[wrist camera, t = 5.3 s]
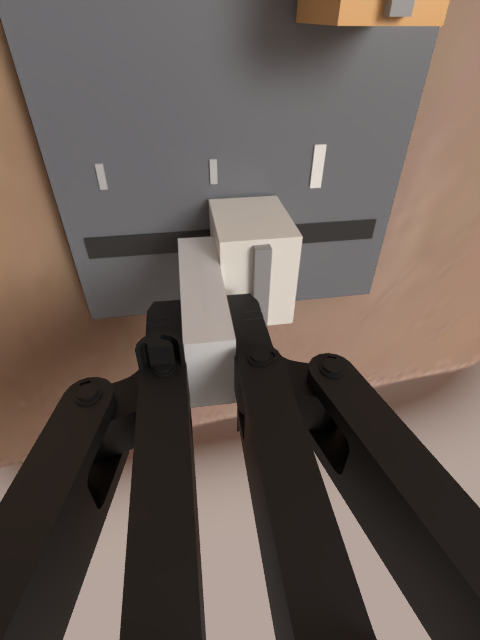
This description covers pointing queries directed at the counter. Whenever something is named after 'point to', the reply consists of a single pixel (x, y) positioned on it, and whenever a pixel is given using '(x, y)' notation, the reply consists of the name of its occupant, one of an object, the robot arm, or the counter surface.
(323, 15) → the orange fader
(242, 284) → the cream fader
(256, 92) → the fader board
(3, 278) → the counter surface
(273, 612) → the robot arm
